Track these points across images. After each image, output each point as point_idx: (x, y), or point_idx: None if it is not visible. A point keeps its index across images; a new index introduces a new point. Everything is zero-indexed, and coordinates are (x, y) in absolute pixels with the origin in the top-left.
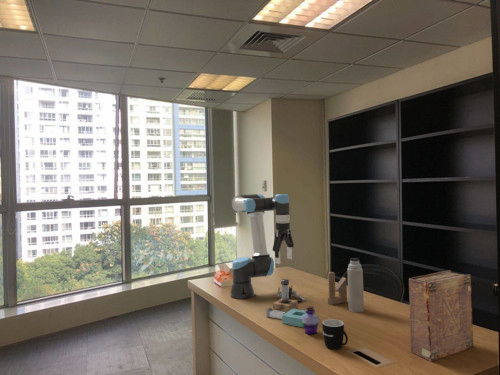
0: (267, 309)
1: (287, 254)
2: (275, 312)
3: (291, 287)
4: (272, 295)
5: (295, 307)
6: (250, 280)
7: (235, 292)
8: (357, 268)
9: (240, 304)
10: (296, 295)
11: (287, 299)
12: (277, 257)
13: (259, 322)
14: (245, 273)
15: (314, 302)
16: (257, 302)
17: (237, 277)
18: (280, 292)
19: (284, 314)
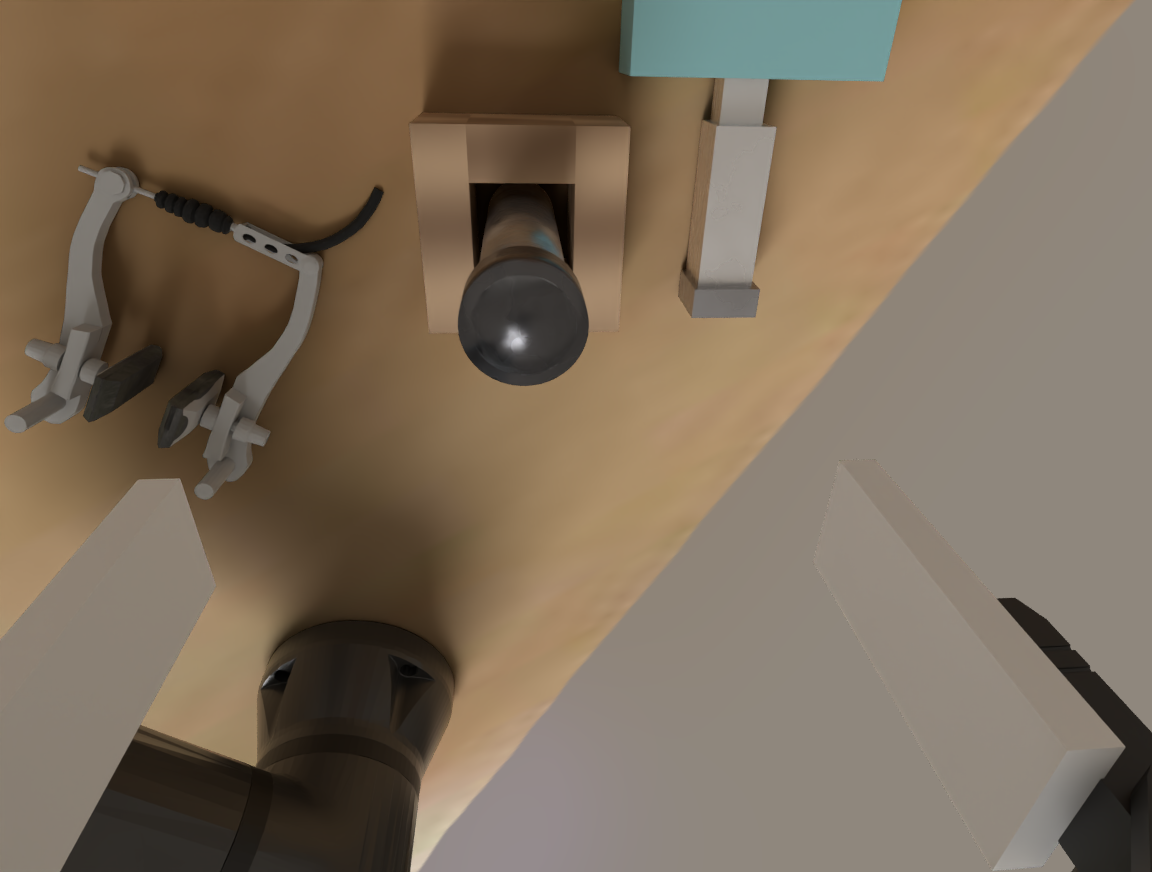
0: (744, 311)
1: (158, 669)
2: (761, 215)
3: (37, 414)
4: (203, 524)
5: (479, 118)
6: (302, 750)
7: (445, 720)
8: None
9: (550, 595)
10: (99, 305)
11: (536, 210)
12: (1024, 610)
13: (871, 281)
14: (353, 833)
15: (70, 40)
16: (443, 528)
17: (412, 830)
18: (223, 451)
19: (849, 71)
